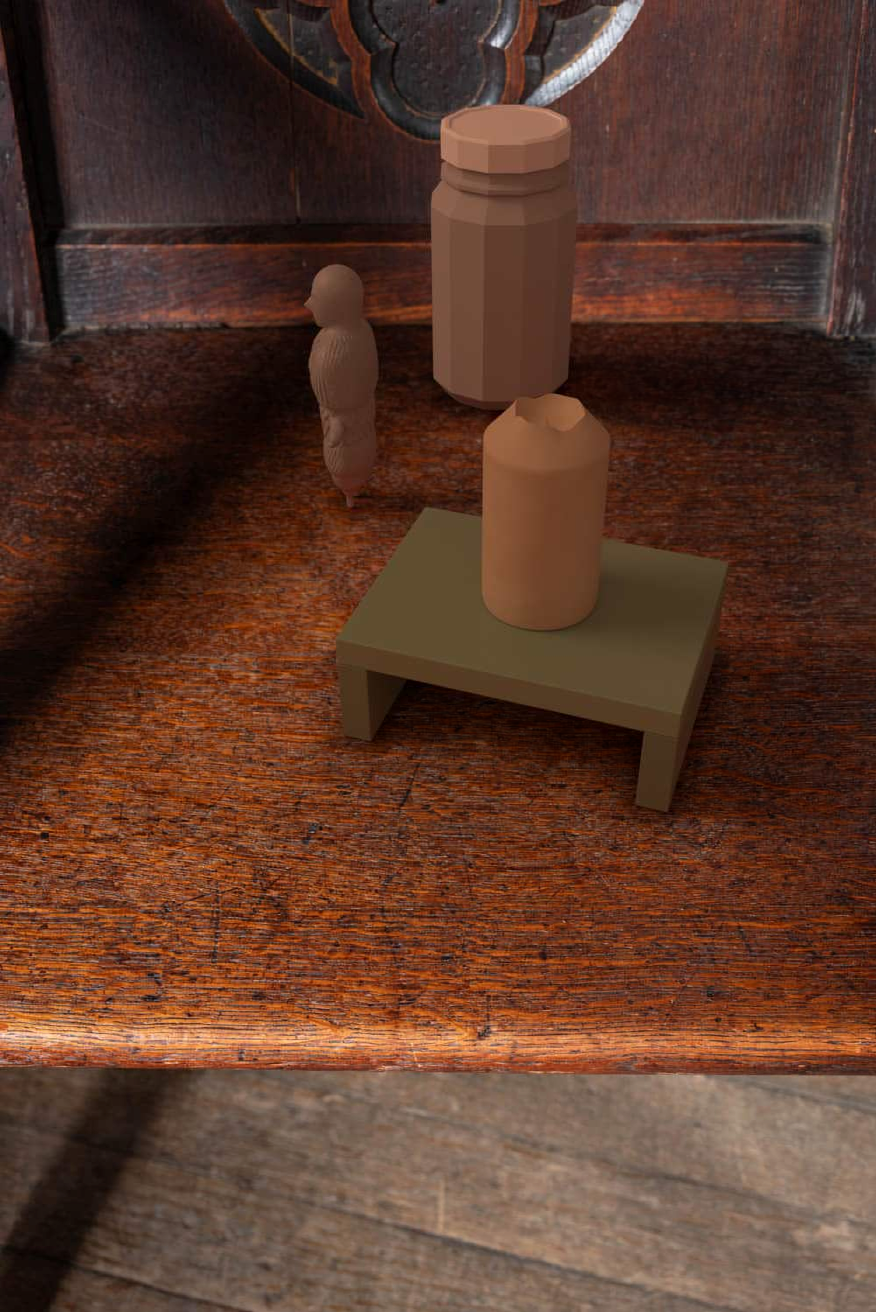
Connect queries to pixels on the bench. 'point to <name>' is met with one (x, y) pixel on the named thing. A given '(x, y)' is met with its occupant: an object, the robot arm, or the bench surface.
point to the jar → (502, 255)
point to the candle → (543, 512)
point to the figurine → (344, 377)
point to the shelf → (540, 642)
